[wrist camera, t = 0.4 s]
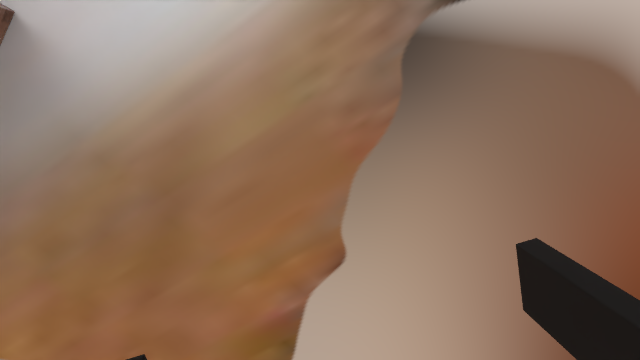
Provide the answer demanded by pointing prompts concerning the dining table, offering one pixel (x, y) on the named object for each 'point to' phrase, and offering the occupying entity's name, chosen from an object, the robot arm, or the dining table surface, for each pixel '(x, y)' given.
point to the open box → (4, 20)
